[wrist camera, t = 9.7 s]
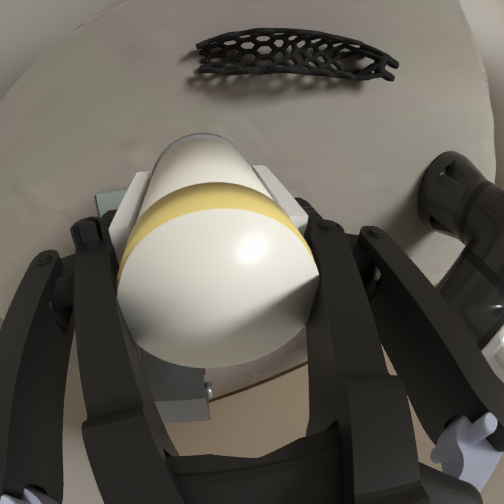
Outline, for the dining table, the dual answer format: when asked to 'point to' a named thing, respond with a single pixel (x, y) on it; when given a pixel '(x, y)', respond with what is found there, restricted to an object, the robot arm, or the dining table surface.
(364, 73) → the decorative element
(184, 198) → the cartridge
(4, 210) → the dining table surface
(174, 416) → the box
